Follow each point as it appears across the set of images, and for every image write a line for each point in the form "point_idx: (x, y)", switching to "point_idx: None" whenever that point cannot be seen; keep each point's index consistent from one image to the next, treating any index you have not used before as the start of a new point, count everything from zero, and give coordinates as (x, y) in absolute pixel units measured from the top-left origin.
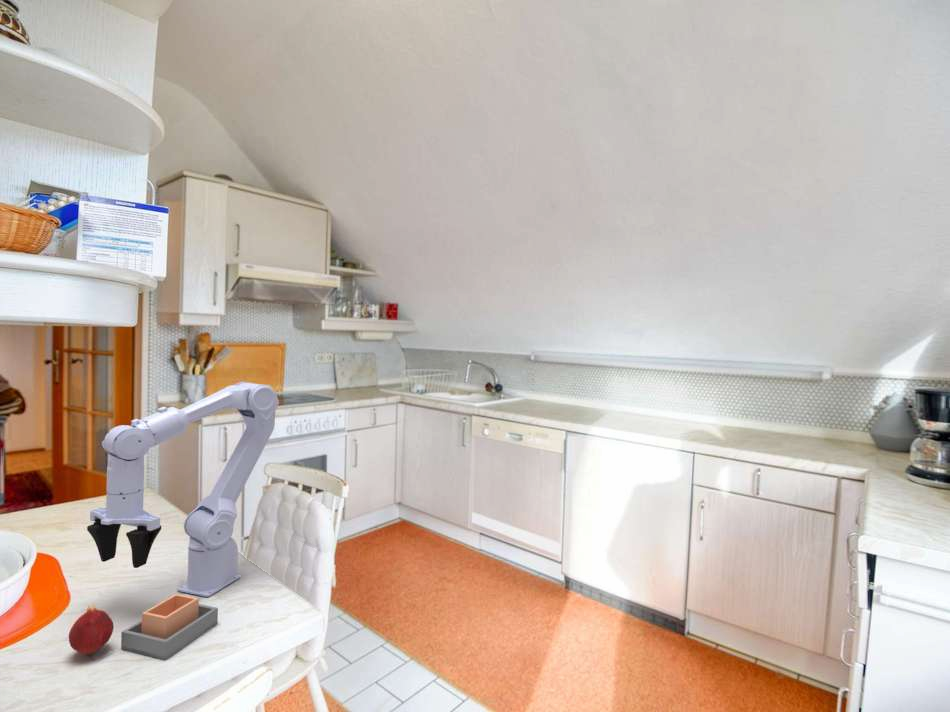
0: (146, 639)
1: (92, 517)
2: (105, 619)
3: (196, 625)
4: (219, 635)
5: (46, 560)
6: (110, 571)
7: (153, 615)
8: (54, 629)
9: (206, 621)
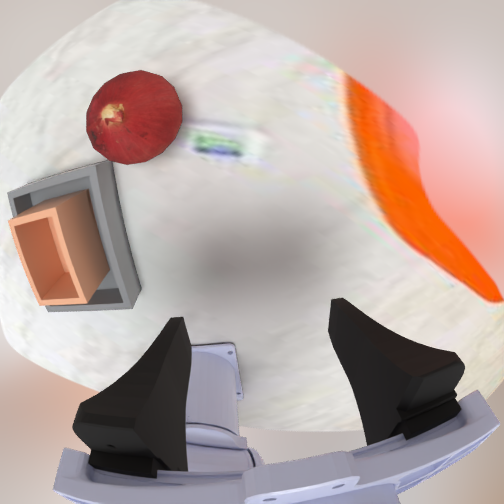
0: (41, 180)
1: (475, 408)
2: (89, 136)
3: None
4: None
5: (496, 292)
6: (410, 325)
7: (31, 215)
8: (326, 145)
9: None
